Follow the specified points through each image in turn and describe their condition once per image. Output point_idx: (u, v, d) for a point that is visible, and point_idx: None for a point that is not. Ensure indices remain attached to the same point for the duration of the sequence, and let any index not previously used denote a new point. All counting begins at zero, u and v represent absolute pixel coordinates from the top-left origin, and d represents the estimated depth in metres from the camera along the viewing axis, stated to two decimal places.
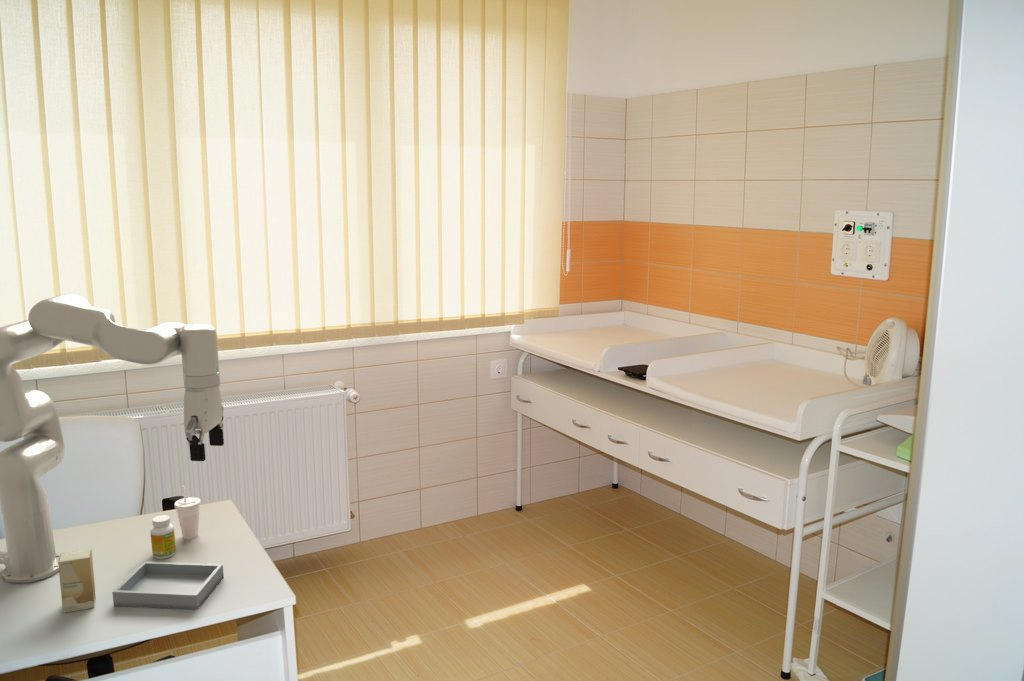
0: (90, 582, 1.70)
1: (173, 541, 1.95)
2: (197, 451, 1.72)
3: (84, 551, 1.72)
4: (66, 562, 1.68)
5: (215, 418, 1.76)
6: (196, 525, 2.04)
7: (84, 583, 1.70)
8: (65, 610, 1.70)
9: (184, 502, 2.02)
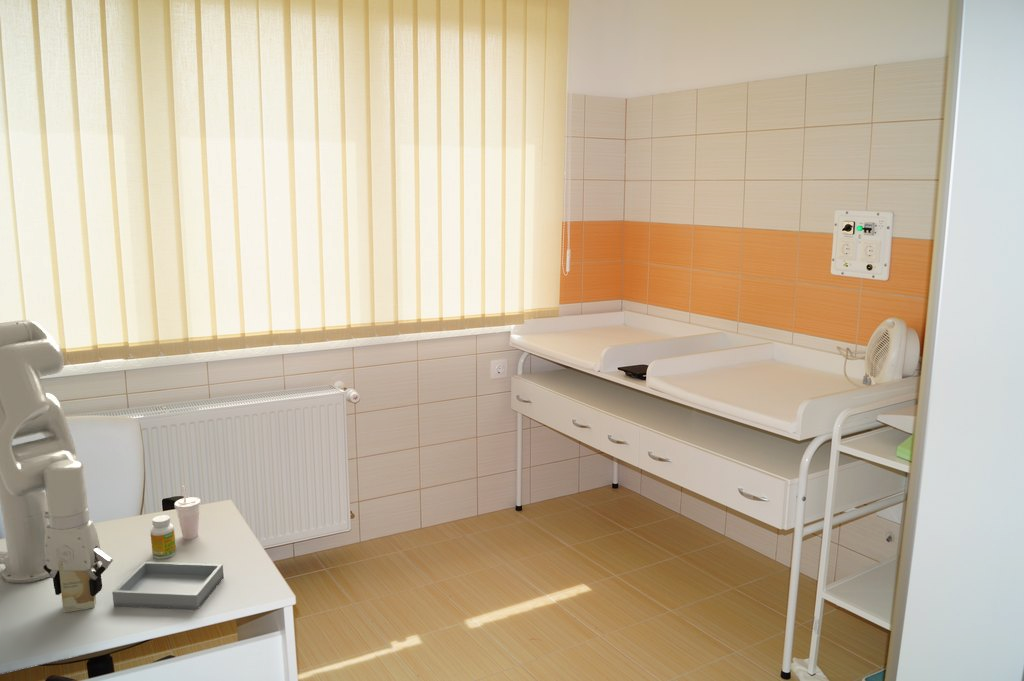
0: None
1: (173, 541, 1.95)
2: (100, 581, 1.72)
3: None
4: None
5: None
6: (196, 525, 2.04)
7: (84, 583, 1.70)
8: (65, 610, 1.70)
9: (184, 502, 2.02)
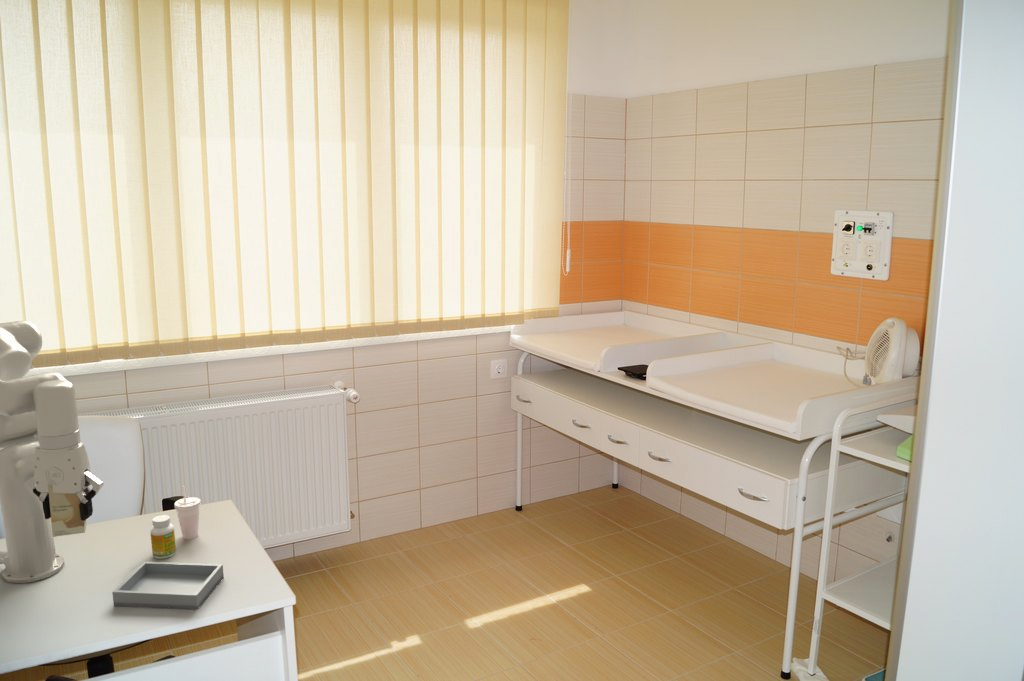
0: None
1: (173, 541, 1.95)
2: (91, 506, 1.68)
3: None
4: None
5: None
6: (196, 525, 2.04)
7: (74, 507, 1.66)
8: (55, 534, 1.66)
9: (184, 502, 2.02)
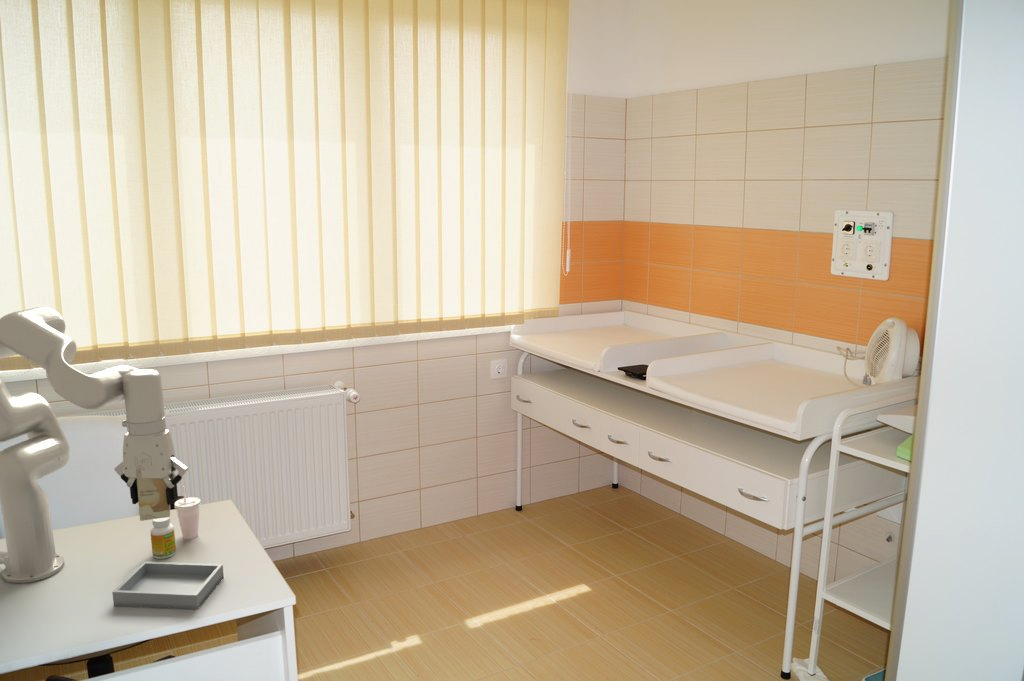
0: None
1: (173, 541, 1.95)
2: (176, 491, 1.73)
3: None
4: None
5: None
6: (196, 525, 2.04)
7: (160, 491, 1.72)
8: (142, 518, 1.71)
9: (184, 502, 2.02)
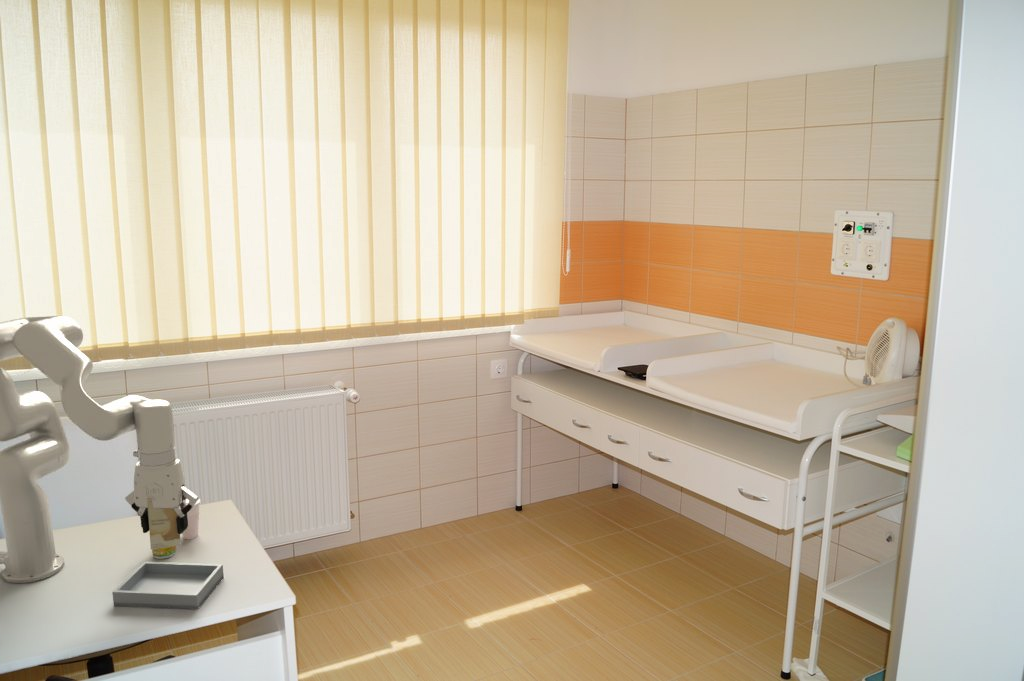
0: None
1: None
2: (186, 520, 1.75)
3: None
4: None
5: None
6: (196, 525, 2.04)
7: (171, 520, 1.73)
8: (153, 547, 1.73)
9: None
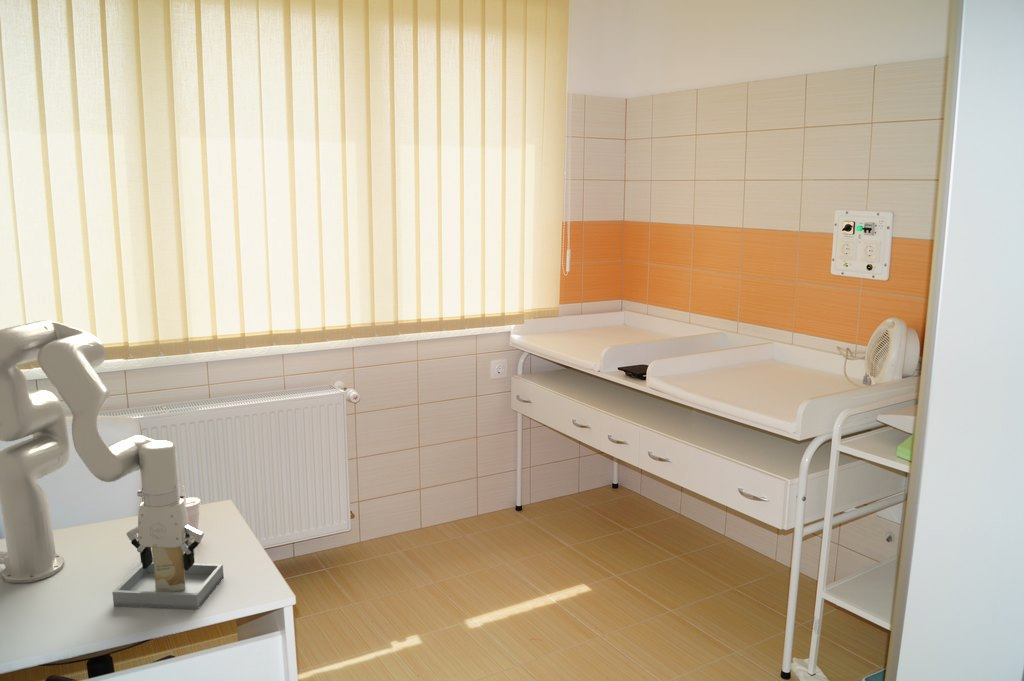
0: (182, 565, 1.76)
1: None
2: (193, 556, 1.77)
3: None
4: None
5: None
6: (196, 525, 2.04)
7: (176, 565, 1.76)
8: None
9: (184, 502, 2.02)
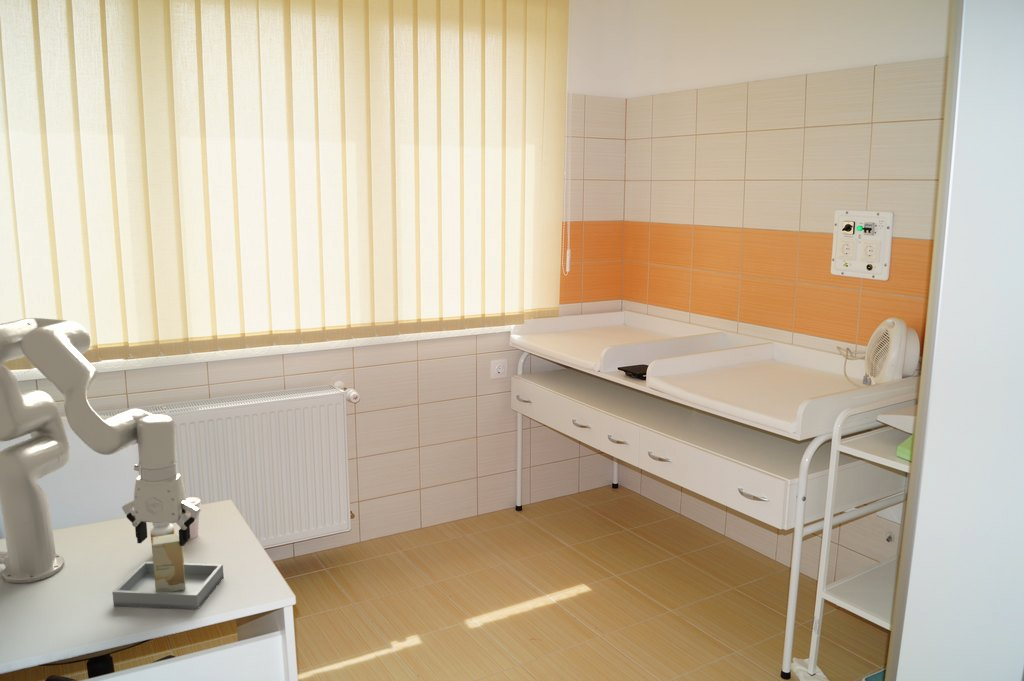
0: (181, 565, 1.76)
1: None
2: (189, 532, 1.76)
3: (175, 535, 1.77)
4: (159, 545, 1.73)
5: None
6: (196, 525, 2.04)
7: (176, 565, 1.75)
8: None
9: None
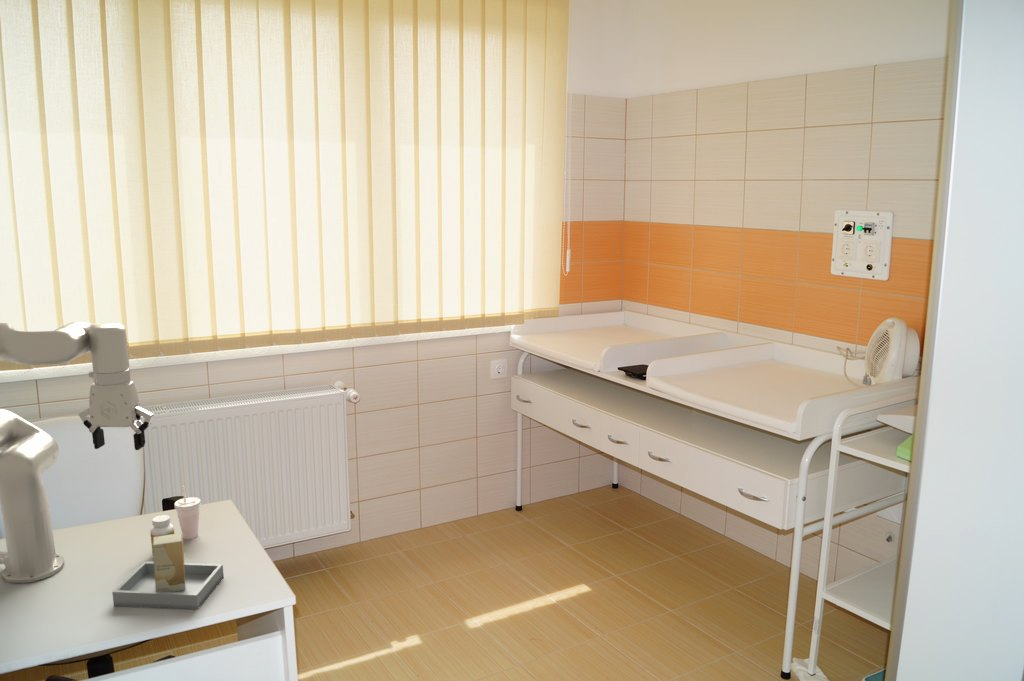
0: (182, 565, 1.76)
1: None
2: (144, 437, 1.83)
3: (176, 535, 1.77)
4: (160, 545, 1.73)
5: None
6: (196, 525, 2.04)
7: (176, 565, 1.76)
8: None
9: (184, 502, 2.02)
